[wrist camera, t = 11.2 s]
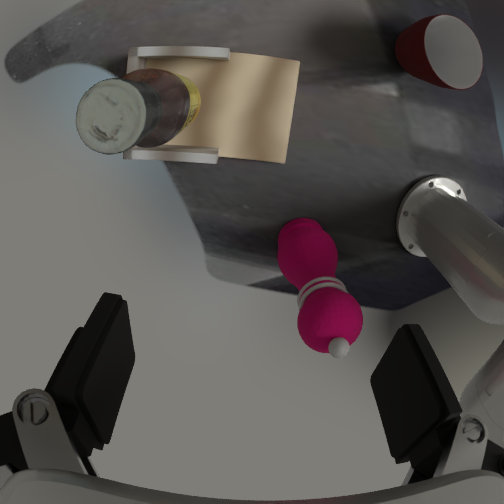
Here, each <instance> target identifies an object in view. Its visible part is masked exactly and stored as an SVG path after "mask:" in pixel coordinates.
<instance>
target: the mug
mask: <svg viewBox="0 0 504 504" xmlns="http://www.w3.org/2000/svg"><path fill="white" fill-rule="evenodd" d="M395 55H396V58H397V60H398V62H399V63H400V65H401V66H402V67H403V68H404V70H405V71H407V72H408V73H409V74H411V75H412V76H414V77H416V78H418V79H421V80H424V81H426V82H429V83H431V84H434V85H436V86H439V87H443V88H448V89H457V90H465V89H469V88H471V87H472V86H474V85H475V84H476V83H477V82H478V80H479V78H480V76H481V74H482V69H483V55H482V50H481V47H480V44H479V42H478V39H477V37H476V36H475V34H474V33H473V31H472V30H471V29H470V27H469V26H468V25H467V24H465V23H464V22H463V21H462V20H460V19H459V18H457V17H454V16H452V15H447V14H441V15H435V16H430V17H426V18H423V19H421V20H419V21H418V22H416V23H414V24H413V25H411V26H410V27H408V28H407V29H405V30H404V31H402V32H401V33H400V35H399V36H398V38H397V40H396V44H395Z"/></svg>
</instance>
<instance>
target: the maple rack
mask: <svg viewBox="0 0 504 504" xmlns="http://www.w3.org/2000/svg"><path fill="white" fill-rule="evenodd" d="M299 66H300V61H295V60H289V59H283V58H277V57H269V56H262V55H253V54H244V53H233V52H230V50H229V48H217V47H195V46H154V47H133V48H129V53H128V63H127V74H128V73H130V72H132V71H135V70H139V69H146V68H153V69H162V70H166V71H169V72H172V73H175V74H178V75H181V76H184V77H186V78H188V79H190V80H191V81H193V83H194V84H195V85H196V87H197V88H198V90H199V93H200V97H201V106H200V110H199V113H198V115H197V116H196V118H195V119H194V121H193V122H192V123H191V124H189V125H188V126H187V127H186V128H185V129H184V130H182V131H181V132H180V133H179V134H178V135H176V136H175V137H174V138H173V139H172V140H170V141H169V142H167V143H165V144H163V145H161V146H158V147H153V148H143V147H138V146H136V145H135V146H134V147H132V148H130V149H128V150H126V151H124V152H123V159H139V160H164V161H183V162H198V163H212V164H217V160H218V157H219V156H220V157H231V158H242V159H252V160H261V161H269V162H278V163H285V159H286V153H287V146H288V140H289V133H290V127H291V120H292V114H293V107H294V101H295V94H296V87H297V80H298V73H299Z"/></svg>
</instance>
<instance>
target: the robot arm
mask: <svg viewBox="0 0 504 504" xmlns="http://www.w3.org/2000/svg"><path fill="white" fill-rule="evenodd" d="M396 229H397V235H398V237H399V240H400V242H401V243H402V245H403V246H404V247H405V248H406V250H407V251H409V252H410V253H412V254H413V255H416V256H420V257H428V258H429V260H430V261H431V262H432V263H433V264H434V265H435V266H436V268H437V269H438V270H439V271H440V272H441V274H442V275H443V276H444V277H445V278H446V280H447V281H448V282H449V283H450V284H451V286H452V287H453V288H454V289H455V291H456V292H457V293H458V294H459V296H460V297H461V298H462V300H463V301H464V302H465V303H466V305H467V306H468V307H469V308H470V310H471V311H472V312H473V313H474V314H475V315H476V316H477V317H478V318H479V319H481V320H483V321H484V322H487V323H491V324H504V229H503V228H502V227H500V226H499V225H498V224H496V223H495V222H494V221H493V220H491V219H490V218H489V217H487V216H486V215H485V214H483V213H482V212H481V211H479V210H478V209H476V208H475V207H474V206H472V205H471V204H469V203H468V202H467V200H466V196H465V193H464V191H463V189H462V188H461V187H460V185H459V184H458V183H457V182H455V181H454V180H452V179H451V178H449V177H446V176H443V175H434V176H429V177H427V178H424V179H422V180H421V181H419V182H418V183H416V184H415V185H414V186H413V187H412V188H411V189H410V190H409V191H408V193H407V194H406V195H405V197H404V199H403V200H402V202H401V204H400V207H399V210H398V214H397V219H396ZM134 362H135V352H134V346H133V340H132V334H131V327H130V320H129V313H128V305H127V301H125V300H123V299H122V296H121V295H117V294H112V293H106V292H105V293H104V294H103V295H102V296H101V298H100V300H99V302H98V303H97V305H96V306H95V308H94V310H93V312H92V314H91V315H90V317H89V319H88V320H87V322H86V324H85V326H84V327H79V328H78V329H77V330H76V331H75V333H74V334H73V336H72V338H71V340H70V342H69V344H68V345H67V347H66V349H65V351H64V353H63V355H62V356H61V359H60V360H59V362H58V364H57V366H56V368H55V370H54V372H53V374H52V376H51V378H50V380H49V382H48V384H47V386H46V388H45V390H44V391H43V390H41V389H35V388H34V389H28V390H26V391H24V392H22V393H21V394H20V395H18V397H17V398H16V399H15V401H14V404H13V408H12V411H11V412H9V413H6V414H3V415H1V416H0V490H1V491H0V504H504V339H503V341H502V343H501V344H500V346H499V347H498V348H497V350H496V351H495V352H494V353H493V354H492V355H491V357H490V358H489V359H488V360H487V361H486V363H485V364H484V365H483V366H482V367H481V369H480V370H479V371H478V372H477V373H476V374H475V375H474V377H473V378H472V379H471V380H470V381H469V383H468V384H467V385H466V387H465V389H464V390H463V392H462V395H461V397H460V403H459V402H458V400H457V397H456V395H455V393H454V391H453V389H452V387H451V385H450V383H449V380H448V378H447V376H446V374H445V372H444V370H443V368H442V366H441V364H440V362H439V360H438V358H437V356H436V354H435V352H434V351H433V349H432V347H431V345H430V343H429V341H428V339H427V337H426V335H425V334H424V332H423V330H422V328H421V327H420V325H418V324H404V325H403V326H402V327H401V328H399V329H398V330H397V332H396V334H395V336H394V338H393V339H392V342H391V343H390V345H389V346H388V348H387V350H386V352H385V353H384V355H383V357H382V359H381V360H380V362H379V364H378V365H377V367H376V369H375V370H374V372H373V374H372V375H371V380H370V382H371V386H372V390H373V393H374V396H375V399H376V403H377V406H378V410H379V413H380V417H381V420H382V424H383V427H384V431H385V435H386V438H387V442H388V445H389V449H390V453H391V456H392V457H394V458H395V461H396V464H400V463H404V462H408V461H410V463H411V467H410V469H409V471H408V473H407V475H406V477H405V479H404V481H403V483H402V485H401V486H399V487H394V488H390V489H385V490H380V491H374V492H368V493H362V494H355V495H348V496H340V497H332V498H321V499H308V500H285V501H254V500H231V499H218V498H207V497H198V496H190V495H183V494H176V493H170V492H164V491H158V490H153V489H147V488H142V487H137V486H133V485H129V484H124V483H120V482H116V481H112V480H108V479H104V478H100V477H99V475H98V473H97V472H96V469H95V467H94V466H93V464H92V462H91V460H90V458H89V456H91V453H92V450H93V448H96V449H99V450H103V446H104V444H109V442H110V439H111V436H112V433H113V429H114V426H115V422H116V419H117V415H118V412H119V409H120V406H121V403H122V400H123V396H124V393H125V390H126V387H127V384H128V381H129V378H130V375H131V372H132V369H133V366H134ZM460 415H461V416H460Z"/></svg>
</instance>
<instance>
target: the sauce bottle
mask: <svg viewBox="0 0 504 504" xmlns="http://www.w3.org/2000/svg"><path fill="white" fill-rule="evenodd" d="M200 106H201V97H200V93H199V90H198V88H197V87H196V85H195V84H194V83H193V81H191V80H190V79H188V78H186V77H184V76H181V75H178V74H175V73H172V72H169V71H166V70H162V69H153V68H146V69H139V70H135V71H132V72H130V73H128V74H126V75H124V76H122V77H121V78H112V79H107V80H103V81H100V82H98V83H97V84H95V85H94V86H92V87H91V88H90V89H89V90H88V91H86V92H85V94H84V95H83V97H82V98H81V100H80V102H79V105H78V109H77V113H76V126H77V130H78V133H79V135H80V138H81V139H82V140H83V142H84V143H85V144H86V146H88V147H89V148H90V149H92V150H94V151H97V152H99V153H103V154H116V153H121V152H124V151H126V150H128V149H130V148H132V147H134V146H135V145H136V146H138V147H143V148H153V147H158V146H161V145H163V144H165V143H167V142H169V141H170V140H172V139H173V138H174V137H175V136H176V135H178V134H179V133H180V132H181V131H182V130H184V129H185V128H186V127H187V126H188V125H189V124H191V123H192V122H193V121H194V119H195V118H196V116H197V115H198V113H199V110H200Z"/></svg>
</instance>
